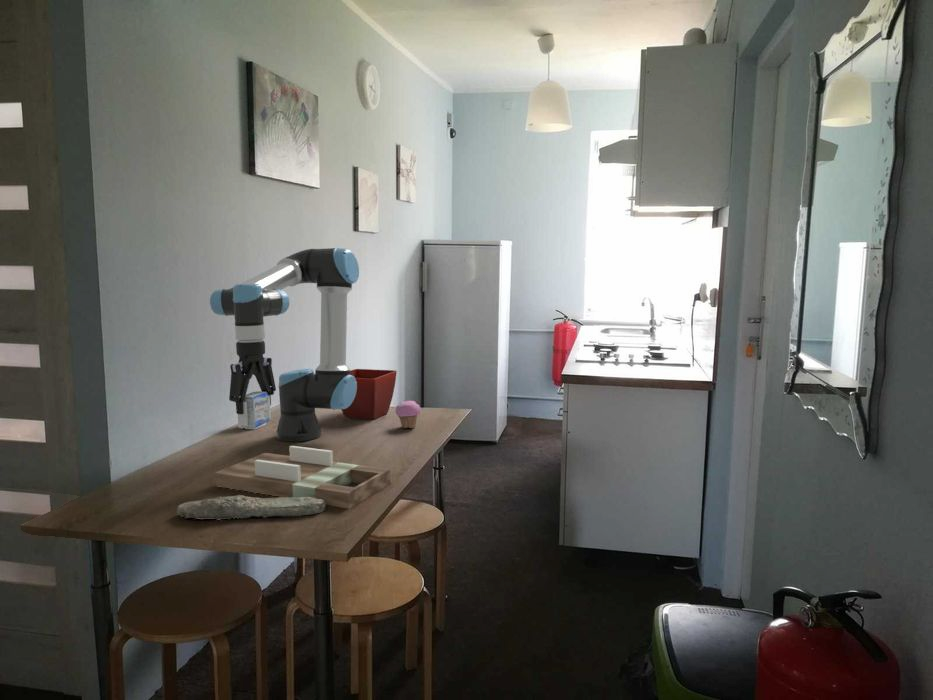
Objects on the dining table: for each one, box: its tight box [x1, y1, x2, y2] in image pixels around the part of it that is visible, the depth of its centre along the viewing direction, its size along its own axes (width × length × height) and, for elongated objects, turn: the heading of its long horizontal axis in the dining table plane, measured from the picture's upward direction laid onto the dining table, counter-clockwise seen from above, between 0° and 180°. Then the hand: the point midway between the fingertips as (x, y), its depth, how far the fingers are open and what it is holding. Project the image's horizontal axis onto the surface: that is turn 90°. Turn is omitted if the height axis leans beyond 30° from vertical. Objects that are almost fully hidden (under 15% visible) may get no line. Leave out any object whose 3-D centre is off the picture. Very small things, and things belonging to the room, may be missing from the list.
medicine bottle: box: [238, 422, 267, 430], centre depth 245 cm, size 7×7×12 cm
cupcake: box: [395, 400, 421, 429], centre depth 240 cm, size 9×9×10 cm
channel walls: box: [255, 445, 334, 482], centre depth 181 cm, size 15×14×4 cm
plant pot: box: [340, 368, 398, 421], centre depth 260 cm, size 19×19×17 cm
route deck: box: [214, 452, 392, 510], centre depth 180 cm, size 20×43×4 cm, turn 66°
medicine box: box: [241, 390, 270, 428], centre depth 184 cm, size 8×4×9 cm, turn 168°
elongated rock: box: [176, 494, 327, 520], centre depth 161 cm, size 35×5×10 cm
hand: (255, 421), depth 185 cm, fingers closed on medicine box, 8 cm apart
